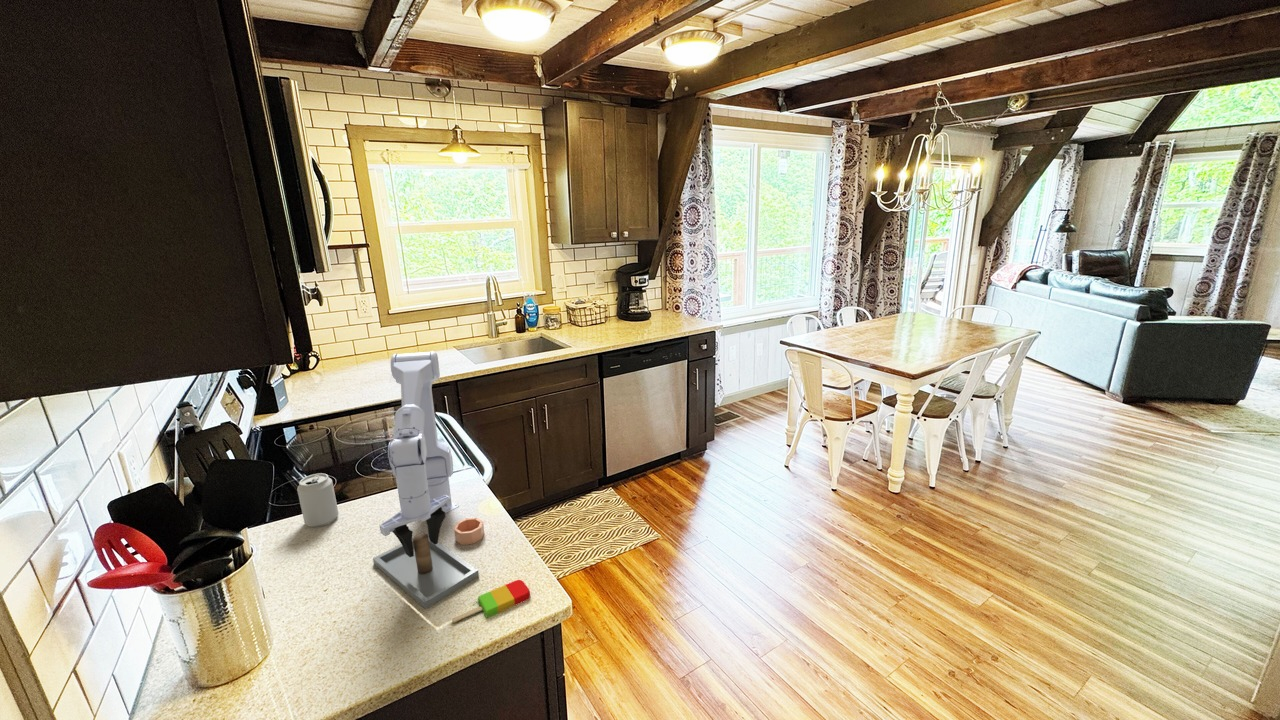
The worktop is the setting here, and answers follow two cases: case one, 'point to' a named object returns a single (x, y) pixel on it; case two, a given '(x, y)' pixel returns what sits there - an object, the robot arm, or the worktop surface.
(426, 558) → the pin
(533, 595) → the worktop surface
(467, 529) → the cup
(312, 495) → the can
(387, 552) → the tray
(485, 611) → the popsicle
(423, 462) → the robot arm
